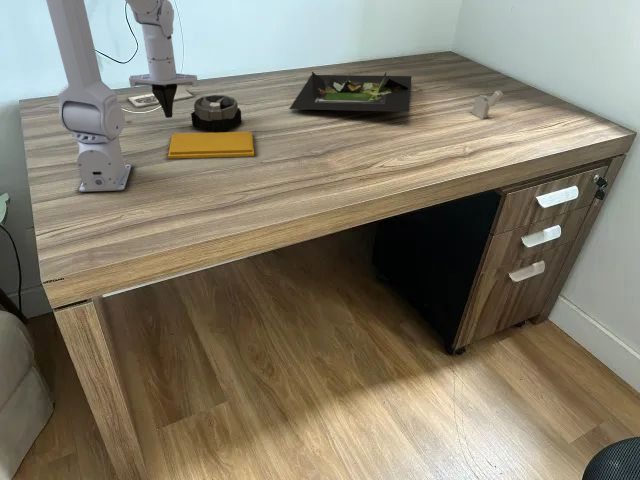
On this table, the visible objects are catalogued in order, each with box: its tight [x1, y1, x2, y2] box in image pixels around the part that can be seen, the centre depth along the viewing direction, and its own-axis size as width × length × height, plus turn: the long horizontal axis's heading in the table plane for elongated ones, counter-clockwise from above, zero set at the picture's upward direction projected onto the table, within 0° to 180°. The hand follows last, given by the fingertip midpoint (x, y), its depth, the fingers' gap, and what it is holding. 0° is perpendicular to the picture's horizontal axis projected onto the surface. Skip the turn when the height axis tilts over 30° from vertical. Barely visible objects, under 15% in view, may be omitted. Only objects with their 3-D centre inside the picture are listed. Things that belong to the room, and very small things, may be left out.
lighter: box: [471, 89, 504, 120], centre depth 127 cm, size 7×2×8 cm, turn 31°
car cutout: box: [128, 85, 194, 108], centre depth 129 cm, size 15×7×4 cm, turn 126°
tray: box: [167, 131, 255, 160], centre depth 108 cm, size 10×18×1 cm, turn 99°
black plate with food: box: [289, 71, 413, 113], centre depth 134 cm, size 30×8×30 cm
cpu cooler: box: [190, 94, 242, 133], centre depth 116 cm, size 10×6×10 cm
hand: (169, 116), depth 114 cm, fingers closed
